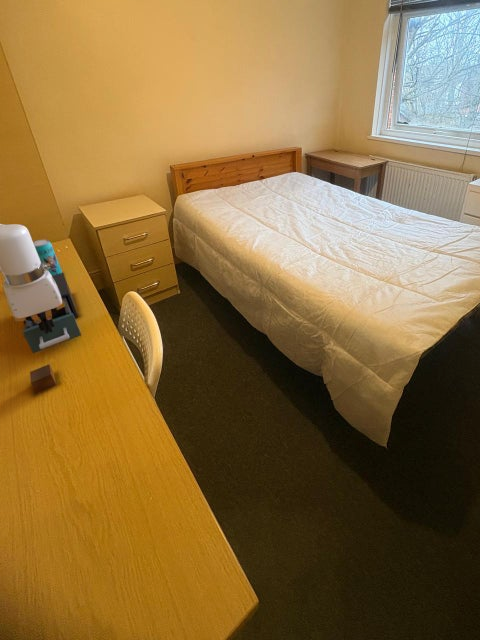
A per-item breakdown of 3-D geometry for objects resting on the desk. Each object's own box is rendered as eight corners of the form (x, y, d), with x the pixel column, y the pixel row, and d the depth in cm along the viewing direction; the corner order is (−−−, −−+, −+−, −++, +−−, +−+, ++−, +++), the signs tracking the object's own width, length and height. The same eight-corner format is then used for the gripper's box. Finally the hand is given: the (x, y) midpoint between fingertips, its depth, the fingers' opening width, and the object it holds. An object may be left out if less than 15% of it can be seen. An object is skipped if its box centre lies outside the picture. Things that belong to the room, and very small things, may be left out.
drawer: (84, 345, 91) (75, 324, 88) (34, 364, 85) (23, 343, 81) (74, 311, 104) (66, 292, 100) (30, 326, 98) (20, 306, 94)
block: (36, 393, 78) (30, 382, 77) (35, 382, 81) (29, 371, 79) (56, 384, 81) (51, 374, 79) (54, 374, 83) (49, 363, 82)
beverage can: (52, 282, 120) (37, 247, 113) (41, 279, 121) (26, 244, 114) (66, 274, 124) (53, 240, 118) (56, 271, 126) (42, 237, 119)
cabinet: (78, 317, 103) (69, 293, 99) (29, 334, 96) (17, 309, 92) (72, 295, 113) (63, 272, 109) (27, 309, 106) (16, 285, 101)
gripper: (59, 258, 85) (78, 312, 94) (-16, 276, 77) (13, 334, 85) (63, 270, 80) (83, 326, 89) (-17, 292, 72) (13, 351, 80)
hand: (48, 330), depth 87 cm, fingers closed
